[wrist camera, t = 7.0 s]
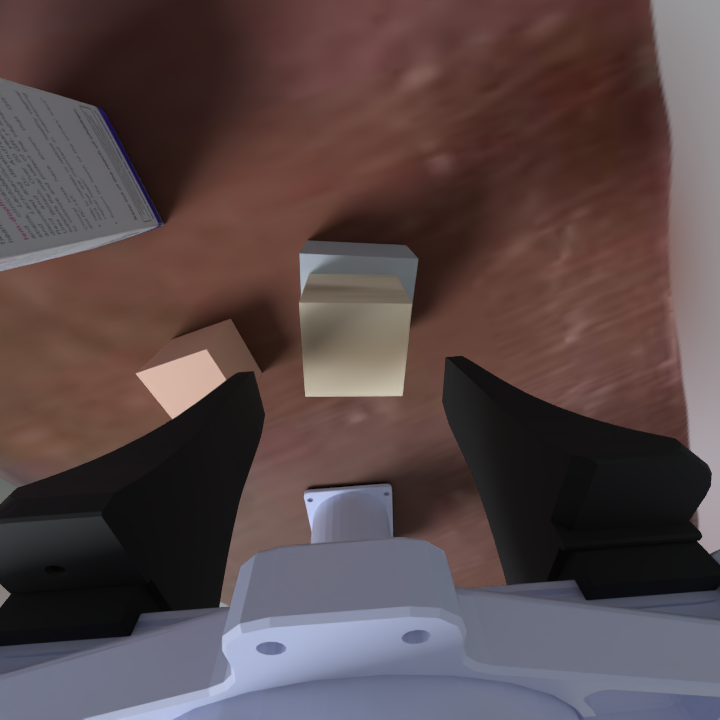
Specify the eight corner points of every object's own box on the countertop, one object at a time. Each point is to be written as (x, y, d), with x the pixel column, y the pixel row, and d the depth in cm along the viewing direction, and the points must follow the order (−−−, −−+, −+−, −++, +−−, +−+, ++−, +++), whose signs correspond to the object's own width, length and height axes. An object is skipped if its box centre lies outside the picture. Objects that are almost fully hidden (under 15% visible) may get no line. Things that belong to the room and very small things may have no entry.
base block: (395, 333, 23) (404, 361, 20) (309, 330, 23) (303, 358, 19) (405, 244, 20) (418, 258, 17) (307, 239, 20) (299, 253, 16)
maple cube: (390, 351, 19) (402, 395, 15) (313, 351, 19) (305, 396, 15) (396, 274, 17) (412, 303, 13) (309, 273, 17) (299, 302, 13)
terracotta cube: (262, 372, 24) (246, 410, 20) (207, 390, 25) (181, 430, 21) (230, 318, 22) (206, 349, 18) (171, 338, 23) (135, 373, 19)
